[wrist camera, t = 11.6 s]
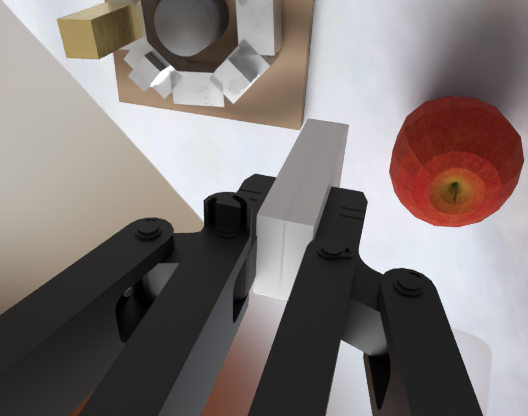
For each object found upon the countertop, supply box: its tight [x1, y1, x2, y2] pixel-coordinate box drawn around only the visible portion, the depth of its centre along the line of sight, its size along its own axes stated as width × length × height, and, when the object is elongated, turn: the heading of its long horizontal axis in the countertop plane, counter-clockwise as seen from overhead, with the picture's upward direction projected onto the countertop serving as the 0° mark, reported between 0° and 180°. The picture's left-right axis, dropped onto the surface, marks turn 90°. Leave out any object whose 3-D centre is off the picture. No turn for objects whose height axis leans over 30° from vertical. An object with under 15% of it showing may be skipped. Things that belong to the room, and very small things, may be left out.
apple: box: [389, 96, 524, 227], centre depth 40 cm, size 10×10×14 cm
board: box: [105, 0, 315, 130], centre depth 44 cm, size 20×20×6 cm
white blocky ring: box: [57, 0, 283, 107], centre depth 41 cm, size 16×15×10 cm
